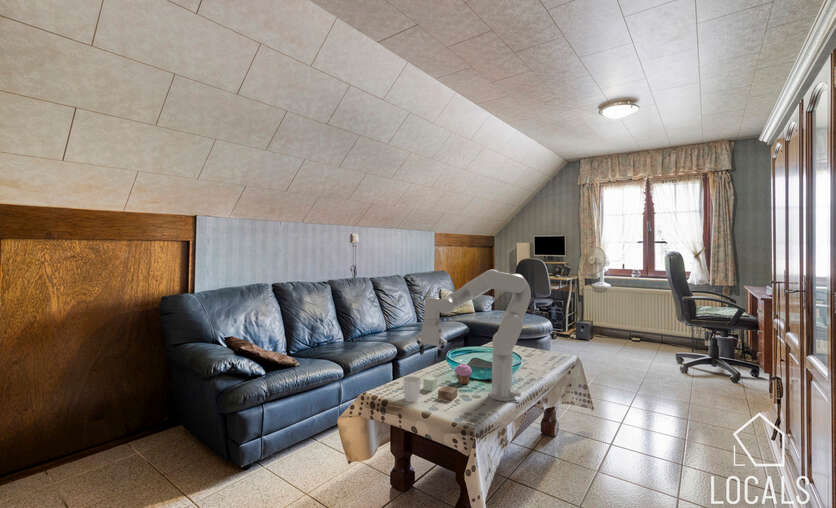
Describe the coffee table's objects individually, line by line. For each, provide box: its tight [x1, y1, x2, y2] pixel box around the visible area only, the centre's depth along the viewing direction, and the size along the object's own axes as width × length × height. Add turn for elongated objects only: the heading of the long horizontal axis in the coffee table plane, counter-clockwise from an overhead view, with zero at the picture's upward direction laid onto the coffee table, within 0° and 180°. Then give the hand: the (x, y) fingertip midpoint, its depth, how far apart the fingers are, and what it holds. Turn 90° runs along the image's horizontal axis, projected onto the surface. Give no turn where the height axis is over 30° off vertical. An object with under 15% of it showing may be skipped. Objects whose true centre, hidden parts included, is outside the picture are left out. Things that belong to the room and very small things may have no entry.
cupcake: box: [454, 363, 473, 385], centre depth 208 cm, size 9×9×10 cm
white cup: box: [403, 375, 421, 403], centre depth 183 cm, size 8×8×10 cm
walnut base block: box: [437, 385, 458, 402], centre depth 186 cm, size 7×7×4 cm
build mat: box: [435, 395, 460, 403], centre depth 186 cm, size 18×12×1 cm, turn 63°
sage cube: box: [422, 375, 438, 393], centre depth 197 cm, size 5×5×6 cm
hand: (430, 355), depth 197 cm, fingers open, 9 cm apart
